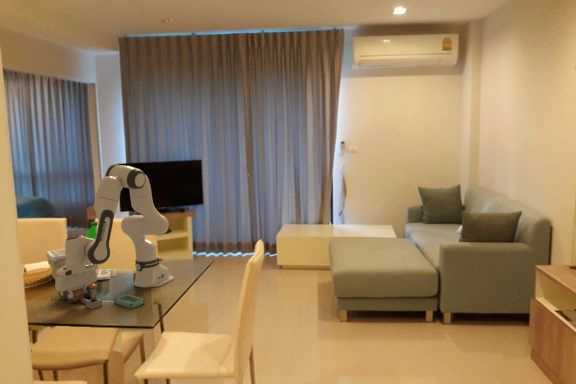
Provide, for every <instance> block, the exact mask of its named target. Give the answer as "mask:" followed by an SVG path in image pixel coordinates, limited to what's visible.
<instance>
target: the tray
mask: <svg viewBox="0 0 576 384" xmlns="http://www.w3.org/2000/svg"><path fill="white" fill-rule="evenodd" d="M115 303H116V304H115ZM114 304H115V305H118V304H119V305H118V306H120V305H121V306H120V307H124V308H126V309H129V310H133V309H136V308H138V307H140V305H141V306H143V305H142V304H144V305H145V299H144V298H142V297H138V296H135V295H132V294H129V293H127V294H124V295H122V296H117V297H115V298H114Z"/></svg>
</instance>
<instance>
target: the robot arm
mask: <svg viewBox="0 0 576 384" xmlns="http://www.w3.org/2000/svg"><path fill="white" fill-rule="evenodd" d="M151 187H152V186H151V184H150V180H149V178H148V176H147V175H146V174H145V173H144V171H143V170H141V169H140V168H137V167H133V166H131V165H125V164H124V165H123V164H122V165H121V164H112V165H110V166H108V168H107V170H106V172H105V176H104V177H102V179H101V181H100V183H99V184H98V187H97V191H96V193H95V194H96V195H95V197H94V203H93V211H94V212H95V215H96V217H97V218H96V219H97V223H98V225H97V228H98V229H97V234H96V239H92V238H88V237H86V235H85V236H84V235H83V234H80V233H79V234H77V233H76V234H73V235H70V236H68V237H67V238H66V240H65V242H64V243H65V245H64V249H65V255H66V265H65V266H63V267H62V268H60V269H58V270H57V271H56V274H57V275H58V276H57V277H56V280H55V279H54V280H55V286H54V287H55V290H56V291H57V292H58V291H59V292H63V291H66V290H68V292H69V293H70V297H75V293H73V292H72V291H73V288H76V287H80V286H83V288H82V289H83V290H84V294H85V290H86V288H87V284H90V283H93V282H95V283H96V282H97V281H98V280H97V274H96V270H97V269H96V268H97V267H96V266H97V265H103V264H104V263H106V262H107V261H108V260H109V259H110V256H111V248H110V239H111V234H112V230H113V229H112V228H113V224H114V219H115V215H116V213H117V212H116V211H117V209H118V205H119V201H120V197H121V191H122V190H123V188H126V189H129V196H130V202H131V207H132V209H133V210H134V211H135V212H137V213H139V215H137V214H134V215H128V216H124V217H123V219H122V220H121V223H120V228H121V230H122V232H123V233H124V235H127V236H128V238H129V239H130V240H131V242H132V243H133V246H134V249H135V278H134V284H133V285H134V286H135V287H139V288H152V287H153V288H155V287H156V288H157V287H160V286H162V285H165V284H167V283H169V282H171V281H173V280H175V277H174V276H173V275H171V274H170V271H169V269H168V267H166V266H165V265H163V264H161V263H162V262H163V260H164V258H162V257H158V256H157V245H156V243H155V242H154V241H152V240H149V239H148V238H147V236H158V235H163V234H166V233H167V231H168V229H169V227H170V226H169V224H170V223H169V219H168V218H167V217H166V216H164V215H162V214H161V213H160V212H159V211H158V210H157V207H155V205H154V201H153V196H152V195H153V194H152V188H151ZM86 259H89V260H90V261H91V262H92V263H93V264H90V265H86ZM160 262H161V263H160ZM93 265H94V266H93Z"/></svg>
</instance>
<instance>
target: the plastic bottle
mask: <svg viewBox="0 0 576 384" xmlns="http://www.w3.org/2000/svg"><path fill="white" fill-rule="evenodd" d="M89 223H90V227H91V228H90V229H89V230H87V232H86V233H85V237H88V238H92V239H96V234H97V229H98V221H91V222H89Z"/></svg>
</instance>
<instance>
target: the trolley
mask: <svg viewBox="0 0 576 384" xmlns="http://www.w3.org/2000/svg"><path fill="white" fill-rule="evenodd" d="M64 259H66V257H62V258H58V259H57V261H58V269H60V268H61V261H60V260H64ZM90 284H93V283H90ZM90 284H87V288H86V290H85V294H84V298H82V299H79V300H80V303H82V304H84V305H85V307H86V308H89V309H91V310H94V309H97V308H100V307H103V299H101V298H98V297H97V301H95V302H91V289H90V287H89V285H90ZM76 288H81V289H82V288H83V286H80V287H76ZM76 288H73V289H76ZM57 292H58V296H59V298H60V300H61V301H67V302H68V303H69V304H74V303H77V302H78V300H74V299H72V297H70V293H69V292H68V290H66V291H63V292H59V291H57ZM88 298H90V299H88Z"/></svg>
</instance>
